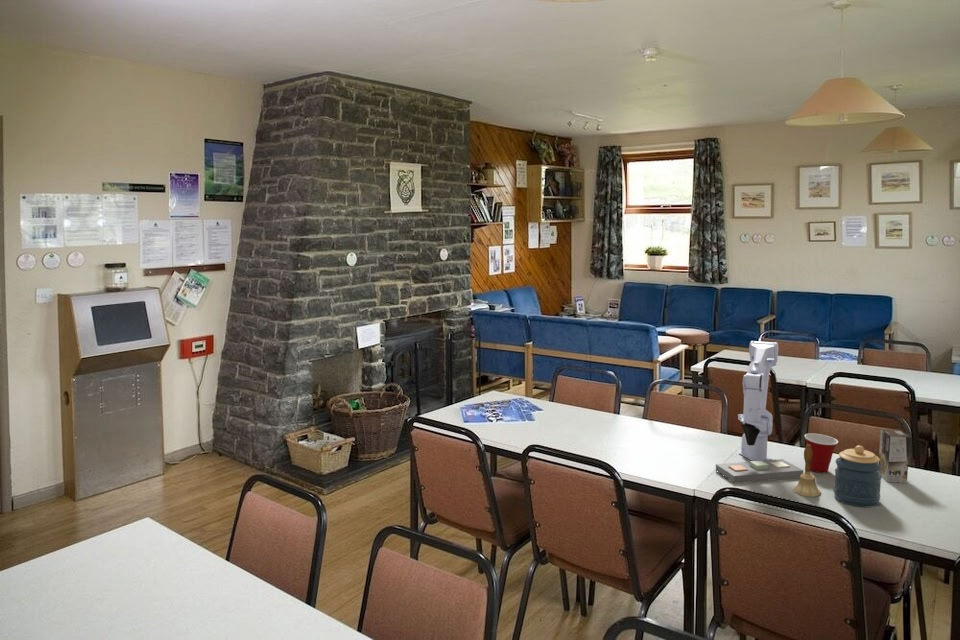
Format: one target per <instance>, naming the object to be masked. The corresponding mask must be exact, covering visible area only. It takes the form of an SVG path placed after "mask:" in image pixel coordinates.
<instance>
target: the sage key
mask: <svg viewBox="0 0 960 640" xmlns="http://www.w3.org/2000/svg"><path fill="white" fill-rule="evenodd" d="M749 462H750V467H752V468H754V469H755V470H764V469H768V467H769V465H768V464H767V463H765V462H763V460H762V461H751V460H749Z"/></svg>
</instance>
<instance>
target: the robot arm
mask: <svg viewBox="0 0 960 640" xmlns="http://www.w3.org/2000/svg"><path fill="white" fill-rule="evenodd" d="M779 347H780V346H779V343H778V341H773V342H772V341H771V342H770V341H760V340H759V341H757V340H751V341H750V342H749V347H748V353H749V355H748V356H749V361H750V363H749V365H748V369H747V372H746V374H744V375H743V377H742V388H743V389H742V391H743V392H742V393H743V413H740V414H737V420H738V421H740V422H741V423H742V424H741V426H740V427H741V429H742V431H743V434H742V435H741V448H740V449H741V451H739V452H738V454H740V455H741V456H743V457H745V458H746V459H748V460H749V461H763V460H773V458H772V457H770V456H768V436H771V434H772V432H773V420H774V419H773V415H772V413H771V412H770V411H768V410H767V409H766V407H767V400H768V399H767V398H768V390H769V378H770V373H771V369H772V368H773V367H775V366H777V363H778V357H779Z"/></svg>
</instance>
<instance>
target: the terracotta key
mask: <svg viewBox="0 0 960 640" xmlns="http://www.w3.org/2000/svg"><path fill="white" fill-rule="evenodd" d="M729 468H730V469H732V470H733V471H735V472H739V471H747V469H746V468H745V467H743V466H741V465H734V466H729Z"/></svg>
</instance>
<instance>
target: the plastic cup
mask: <svg viewBox="0 0 960 640" xmlns="http://www.w3.org/2000/svg"><path fill="white" fill-rule="evenodd" d="M804 439H805V443H806V444H810V445H811V449H812V452H813V456H812V461H811V464H810V467H811V469H810V470H811V471H812V472H815V473H819V472H820V473H821V474H824V472H825V473H828V472H827V471H828V470H829V468H830V464H831V461H832V458H833V454H834V450H835V448H836V446H837V445H838V443H839V440H838V439H837V438H834V437H832V436H830V435H826V434H823V433H822V434H821V433H813V432H812V433H806V434H804ZM806 444H805V445H806Z"/></svg>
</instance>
